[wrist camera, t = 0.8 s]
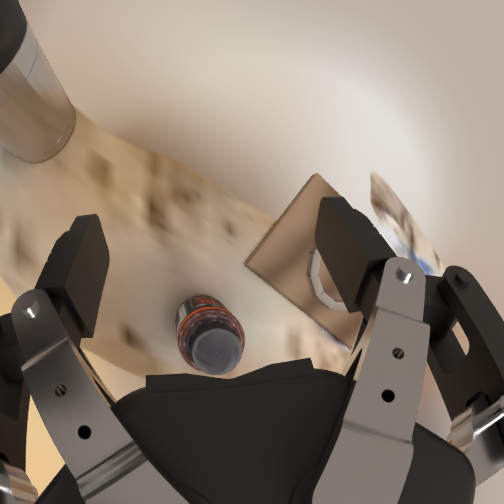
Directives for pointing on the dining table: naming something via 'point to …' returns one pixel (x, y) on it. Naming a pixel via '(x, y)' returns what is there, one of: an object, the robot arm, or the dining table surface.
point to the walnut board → (304, 264)
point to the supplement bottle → (209, 335)
